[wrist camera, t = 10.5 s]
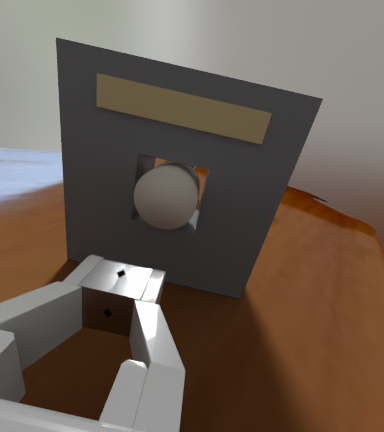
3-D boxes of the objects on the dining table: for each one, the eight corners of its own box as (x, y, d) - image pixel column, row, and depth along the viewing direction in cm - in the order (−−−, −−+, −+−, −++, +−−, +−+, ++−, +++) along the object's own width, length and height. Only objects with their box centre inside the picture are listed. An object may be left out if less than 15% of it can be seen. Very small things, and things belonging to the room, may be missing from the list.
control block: (240, 302, 20) (326, 97, 13) (64, 261, 20) (51, 34, 13) (233, 263, 25) (289, 109, 18) (98, 232, 25) (102, 66, 18)
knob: (189, 235, 16) (203, 176, 14) (131, 221, 16) (136, 161, 14) (197, 196, 26) (206, 159, 24) (161, 188, 26) (167, 150, 24)
